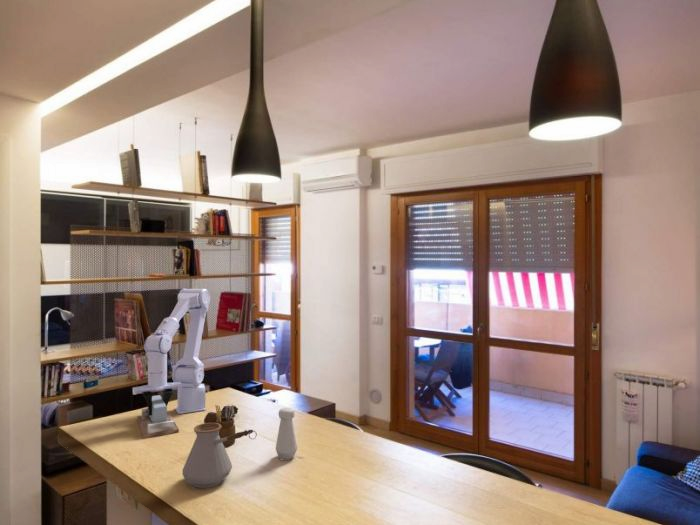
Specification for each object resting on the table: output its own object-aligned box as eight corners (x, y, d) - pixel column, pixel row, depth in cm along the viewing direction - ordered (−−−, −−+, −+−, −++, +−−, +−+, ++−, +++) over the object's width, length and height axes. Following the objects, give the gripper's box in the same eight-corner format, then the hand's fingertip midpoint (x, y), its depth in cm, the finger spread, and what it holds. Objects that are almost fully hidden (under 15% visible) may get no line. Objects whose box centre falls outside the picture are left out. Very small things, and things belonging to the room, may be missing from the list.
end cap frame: (168, 414, 161) (168, 404, 161) (178, 432, 143) (178, 421, 143) (137, 419, 156) (137, 409, 156) (143, 438, 138) (143, 426, 138)
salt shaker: (293, 462, 121) (293, 412, 121) (272, 460, 122) (272, 411, 122) (299, 453, 127) (299, 406, 127) (280, 452, 128) (280, 405, 128)
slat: (159, 412, 157) (159, 395, 157) (166, 425, 144) (166, 406, 144) (148, 414, 155) (148, 396, 155) (154, 427, 142) (154, 408, 142)
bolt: (236, 420, 161) (212, 433, 146) (225, 412, 162) (200, 424, 147) (243, 406, 160) (221, 418, 146) (232, 398, 161) (209, 409, 147)
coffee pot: (171, 483, 109) (172, 420, 109) (210, 466, 119) (211, 408, 119) (234, 509, 97) (234, 438, 98) (271, 487, 107) (271, 423, 107)
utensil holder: (239, 441, 135) (239, 401, 136) (224, 449, 130) (225, 406, 130) (224, 438, 138) (224, 398, 138) (209, 445, 133) (209, 403, 133)
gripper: (134, 376, 143) (133, 420, 142) (183, 371, 150) (182, 413, 150) (132, 372, 149) (131, 414, 148) (179, 367, 156) (178, 407, 156)
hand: (157, 413), depth 149 cm, fingers closed on slat, 3 cm apart
